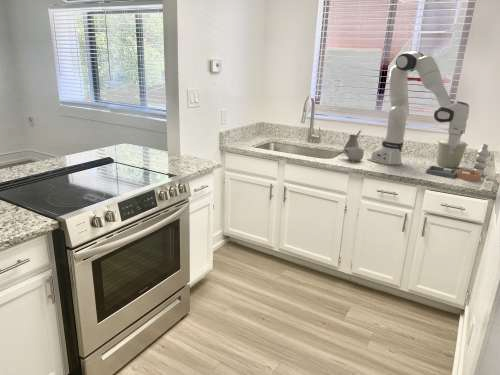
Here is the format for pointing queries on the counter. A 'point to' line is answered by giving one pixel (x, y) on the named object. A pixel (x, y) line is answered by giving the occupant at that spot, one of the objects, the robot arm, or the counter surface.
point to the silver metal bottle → (481, 159)
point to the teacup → (354, 153)
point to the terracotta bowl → (469, 175)
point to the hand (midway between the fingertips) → (452, 152)
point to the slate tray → (440, 171)
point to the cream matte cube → (447, 170)
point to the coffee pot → (352, 142)
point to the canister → (450, 159)
